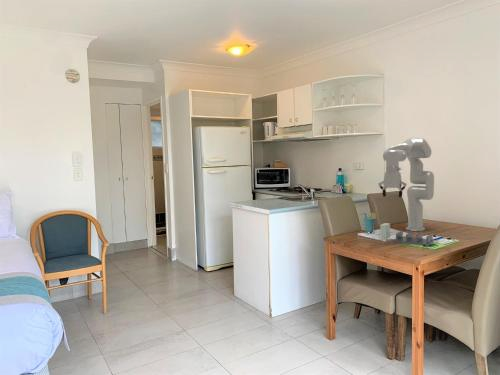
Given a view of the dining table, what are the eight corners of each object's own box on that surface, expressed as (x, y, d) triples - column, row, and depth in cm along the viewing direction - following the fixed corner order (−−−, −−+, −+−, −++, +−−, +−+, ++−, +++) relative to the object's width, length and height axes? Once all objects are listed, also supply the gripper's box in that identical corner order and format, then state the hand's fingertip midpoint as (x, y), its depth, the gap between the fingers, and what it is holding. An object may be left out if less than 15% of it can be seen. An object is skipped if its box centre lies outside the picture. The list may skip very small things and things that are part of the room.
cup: (365, 234, 269) (365, 213, 268) (357, 233, 276) (357, 212, 275) (379, 232, 276) (379, 211, 275) (371, 230, 283) (370, 210, 282)
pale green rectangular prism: (384, 237, 258) (384, 223, 257) (390, 238, 256) (389, 223, 255) (380, 240, 252) (380, 225, 251) (385, 240, 250) (385, 225, 249)
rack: (400, 238, 254) (400, 230, 254) (433, 241, 242) (433, 233, 241) (394, 242, 244) (394, 233, 243) (428, 246, 232) (428, 237, 231)
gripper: (408, 169, 242) (408, 196, 243) (380, 169, 252) (380, 195, 254) (404, 169, 236) (404, 197, 237) (376, 170, 246) (376, 196, 248)
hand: (392, 196), depth 245 cm, fingers open, 9 cm apart
